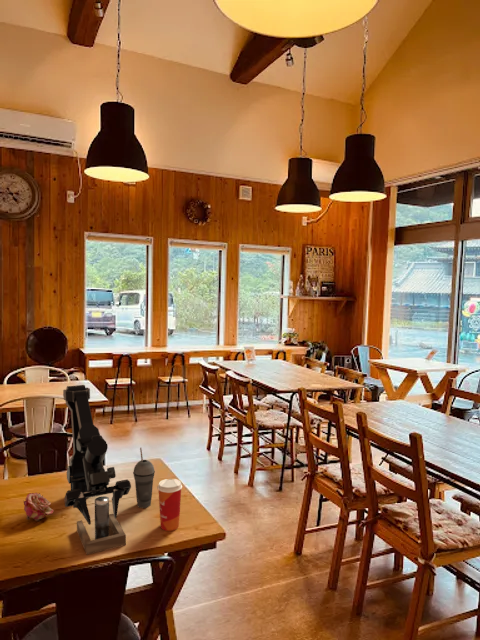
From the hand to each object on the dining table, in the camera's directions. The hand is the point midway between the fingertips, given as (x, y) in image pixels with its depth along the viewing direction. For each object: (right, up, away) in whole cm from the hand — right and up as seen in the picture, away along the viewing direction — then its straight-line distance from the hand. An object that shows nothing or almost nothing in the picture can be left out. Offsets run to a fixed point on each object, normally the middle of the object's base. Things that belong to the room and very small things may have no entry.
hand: (103, 520), depth 139 cm
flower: (-25, -5, +14) cm, 29 cm away
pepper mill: (-1, -6, +2) cm, 7 cm away
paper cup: (+18, -6, +10) cm, 22 cm away
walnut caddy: (-2, -6, +4) cm, 8 cm away
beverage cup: (+7, -5, +25) cm, 26 cm away
